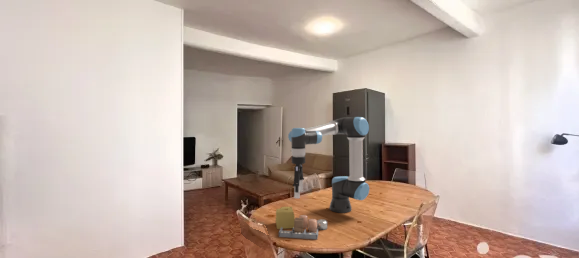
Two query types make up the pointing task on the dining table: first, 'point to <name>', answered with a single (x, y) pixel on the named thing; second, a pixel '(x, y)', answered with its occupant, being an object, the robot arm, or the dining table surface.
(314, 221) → the pale pink egg
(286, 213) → the cheese
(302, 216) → the brown egg
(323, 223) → the chrome metal ball
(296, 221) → the walnut post
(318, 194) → the dining table surface
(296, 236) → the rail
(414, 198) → the dining table surface
